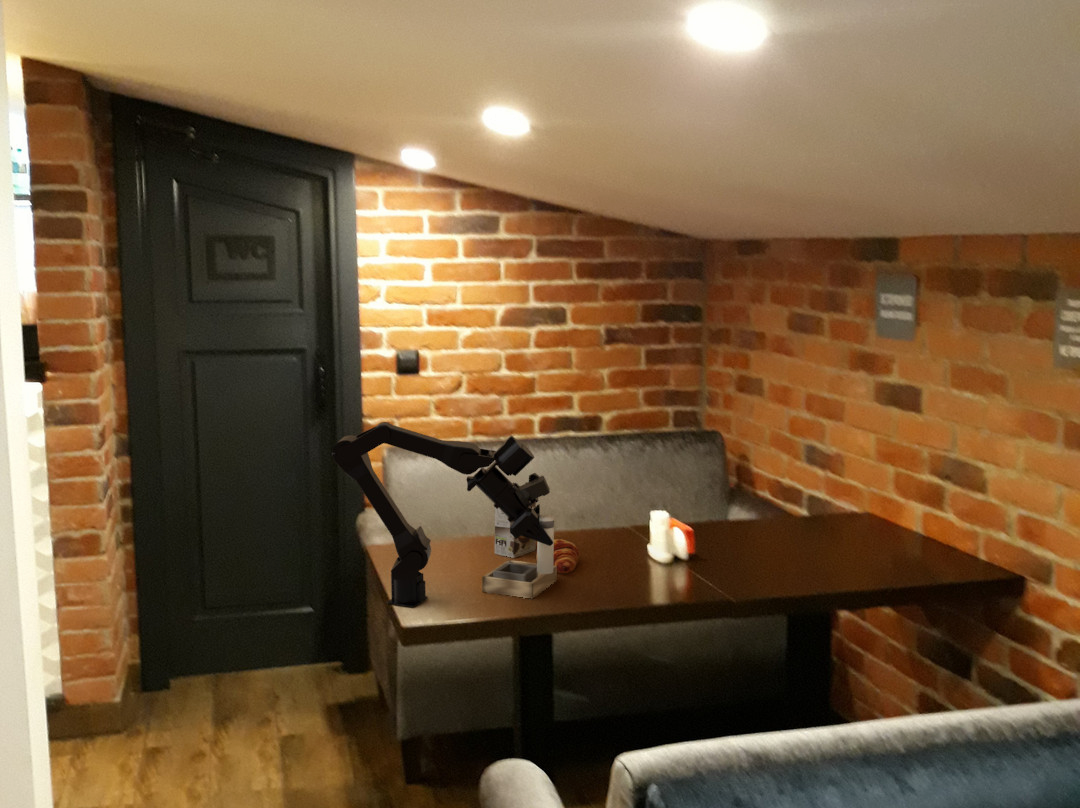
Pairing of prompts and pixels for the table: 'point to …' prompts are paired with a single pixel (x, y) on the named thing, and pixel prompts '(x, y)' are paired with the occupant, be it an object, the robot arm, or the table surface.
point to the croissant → (564, 556)
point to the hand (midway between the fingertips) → (551, 541)
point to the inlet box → (517, 579)
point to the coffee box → (510, 538)
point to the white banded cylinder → (546, 547)
